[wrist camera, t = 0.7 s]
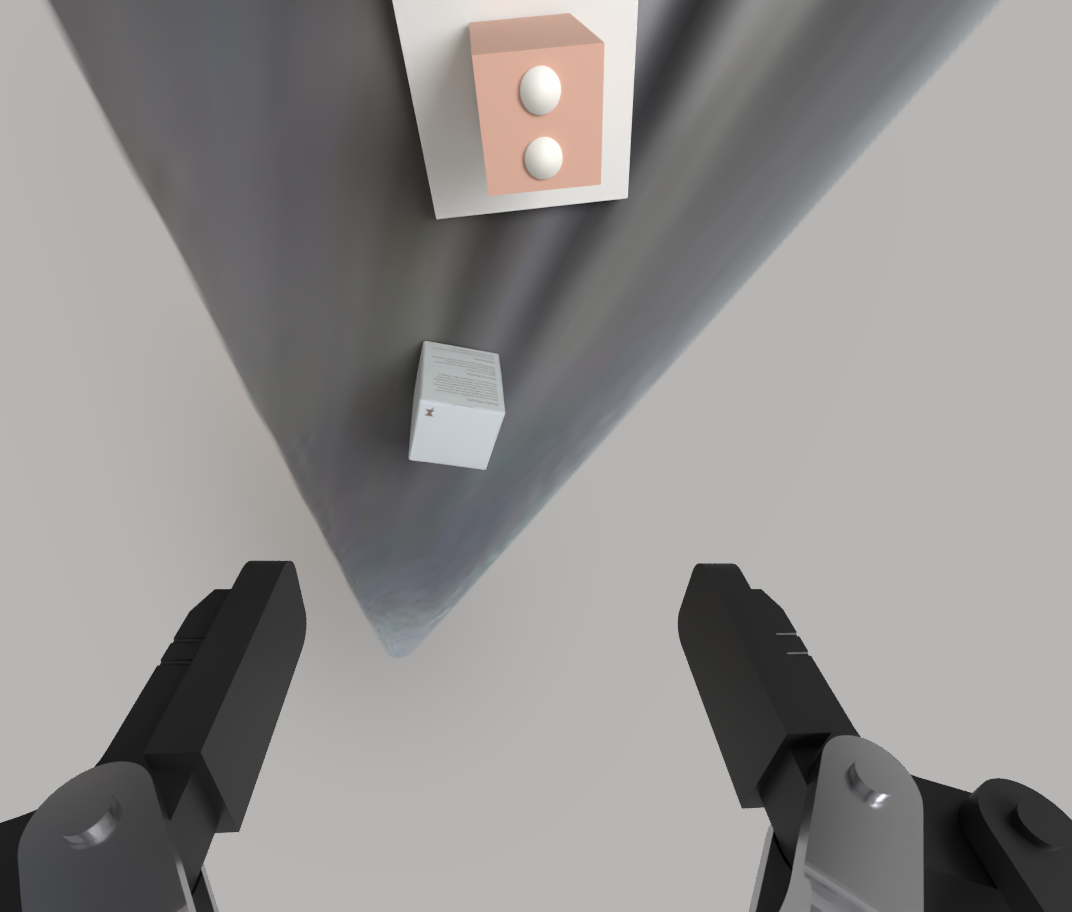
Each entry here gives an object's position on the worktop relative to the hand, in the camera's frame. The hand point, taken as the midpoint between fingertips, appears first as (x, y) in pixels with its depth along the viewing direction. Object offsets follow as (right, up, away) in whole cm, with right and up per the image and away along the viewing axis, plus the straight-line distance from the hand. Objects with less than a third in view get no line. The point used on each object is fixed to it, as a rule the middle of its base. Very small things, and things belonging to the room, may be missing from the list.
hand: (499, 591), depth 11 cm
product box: (-6, +9, +32) cm, 34 cm away
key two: (0, +23, +17) cm, 28 cm away
